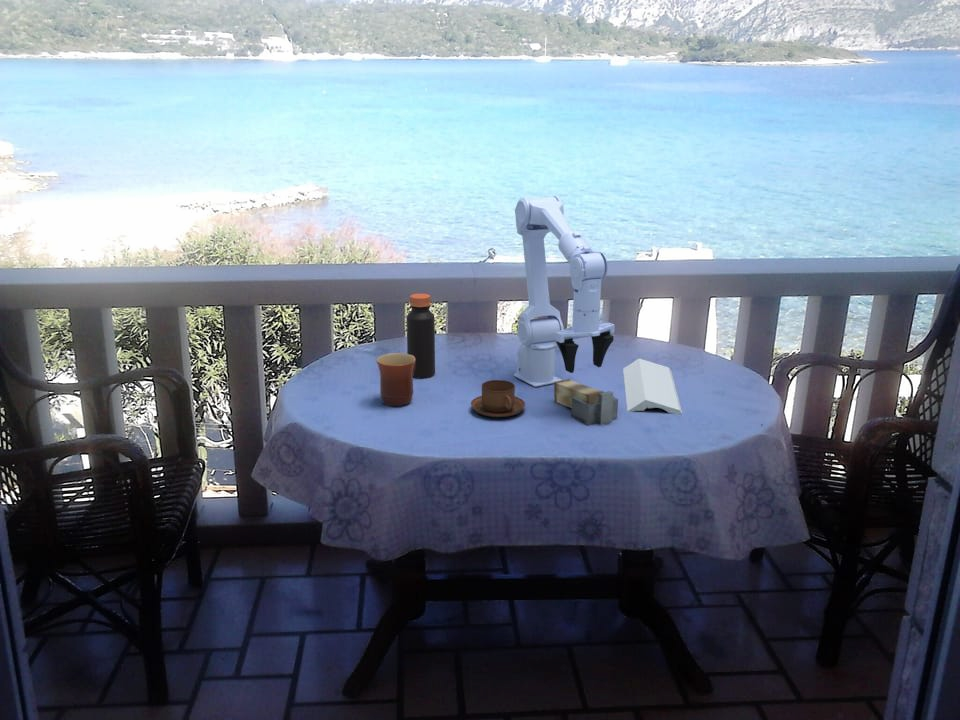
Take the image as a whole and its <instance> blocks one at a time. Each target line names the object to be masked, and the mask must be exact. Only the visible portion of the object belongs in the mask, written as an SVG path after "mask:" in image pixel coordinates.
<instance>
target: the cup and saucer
mask: <svg viewBox="0 0 960 720" xmlns="http://www.w3.org/2000/svg"><path fill="white" fill-rule="evenodd" d="M515 391H516V385H515V383H514V382H512V381H508V380H504V379H492V380H491V379H490V380H487V381H484V382H483V383H482V384H481V395H479V396H477V397H475V398H473V399H472V400H471V402H470V406H471V408H472V410H474V411H475V412H476V413H478V414H479V415H482V416H485V417H490V418H505V417H506V418H507V417H512V416H515V415H517V414H518V415H519V414H520V413H521V412H522V411H523V410H524V409H525V408H526V407H525V405H526V402H525V401H524V400H523V399H522V398H520V397H518V396H516V393H515Z"/></svg>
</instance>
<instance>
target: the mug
mask: <svg viewBox="0 0 960 720" xmlns="http://www.w3.org/2000/svg"><path fill="white" fill-rule="evenodd" d="M415 360H416V359H415V357H414V355H411V354H407V353H401V352H397V353H396V352H395V353H394V352H393V353H386V354H382V355H380V356H378V357H377V358H376V363H377V366H378V371H379V376H380V378H379V379H380V382H379V384H380V385H379V387H380V388H379V389H380V392H379V394H380V398H381V402H382V403H384V404H385V405H387V406H389V407H404V406H406V405H408V404H410V403H411V402H412V400H413V397H414V378H413V375H414V371H415Z"/></svg>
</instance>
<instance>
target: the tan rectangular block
mask: <svg viewBox="0 0 960 720" xmlns="http://www.w3.org/2000/svg"><path fill="white" fill-rule="evenodd" d="M553 391H554V392H553V396H554V397H553V399H554V403H555V402H556V403H558V404H560V405H563V406H565V407H568V408H571V407H572V397H575V396H576V397H578V398H580V399H581V400H583V401H585V402H587V403H589V404H591V403H595V402H598V397H599V393H603V392H605V391H603V390H600V389H597V388H593V387H592V386H591V387H590V386H587V385H585V384H582V383H579V382H577V381H574V380H571V379H570V378H567V379H561V381H557V382H554V383H553Z"/></svg>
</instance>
